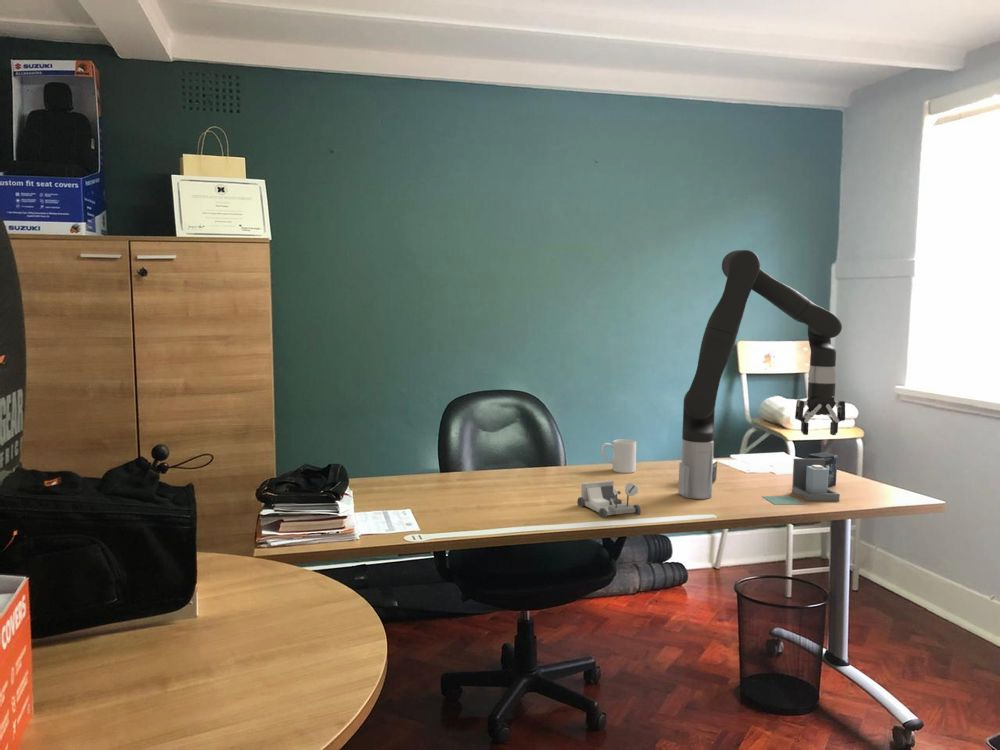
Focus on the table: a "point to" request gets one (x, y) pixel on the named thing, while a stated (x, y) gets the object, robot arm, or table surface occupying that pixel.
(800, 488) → the case
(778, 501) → the pad
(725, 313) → the robot arm
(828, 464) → the box
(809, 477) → the module
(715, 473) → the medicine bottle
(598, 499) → the toy car
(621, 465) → the mug
